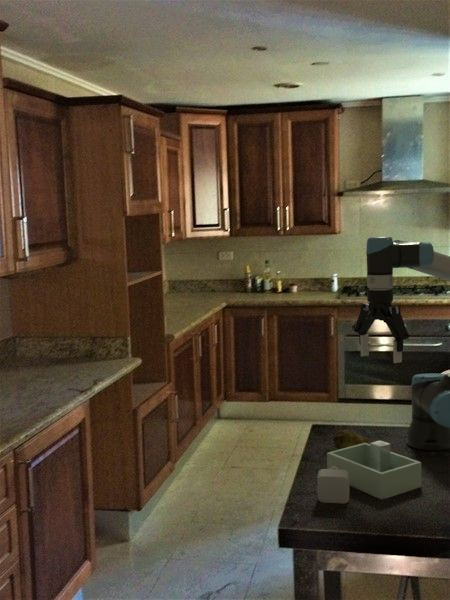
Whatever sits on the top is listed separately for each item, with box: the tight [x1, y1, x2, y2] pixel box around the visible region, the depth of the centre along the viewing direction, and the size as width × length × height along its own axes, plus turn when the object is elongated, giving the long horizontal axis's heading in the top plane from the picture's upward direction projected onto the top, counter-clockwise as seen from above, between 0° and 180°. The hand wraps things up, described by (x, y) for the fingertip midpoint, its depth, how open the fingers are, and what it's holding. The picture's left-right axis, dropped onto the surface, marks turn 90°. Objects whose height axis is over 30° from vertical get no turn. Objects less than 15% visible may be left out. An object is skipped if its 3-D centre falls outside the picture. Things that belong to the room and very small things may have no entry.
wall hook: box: [316, 466, 350, 504], centre depth 196 cm, size 8×10×10 cm
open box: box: [326, 443, 422, 500], centre depth 206 cm, size 15×22×7 cm
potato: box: [332, 429, 374, 450], centre depth 228 cm, size 8×13×8 cm, turn 82°
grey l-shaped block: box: [370, 440, 391, 472], centre depth 205 cm, size 10×4×10 cm, turn 123°
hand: (380, 359), depth 219 cm, fingers open, 13 cm apart
